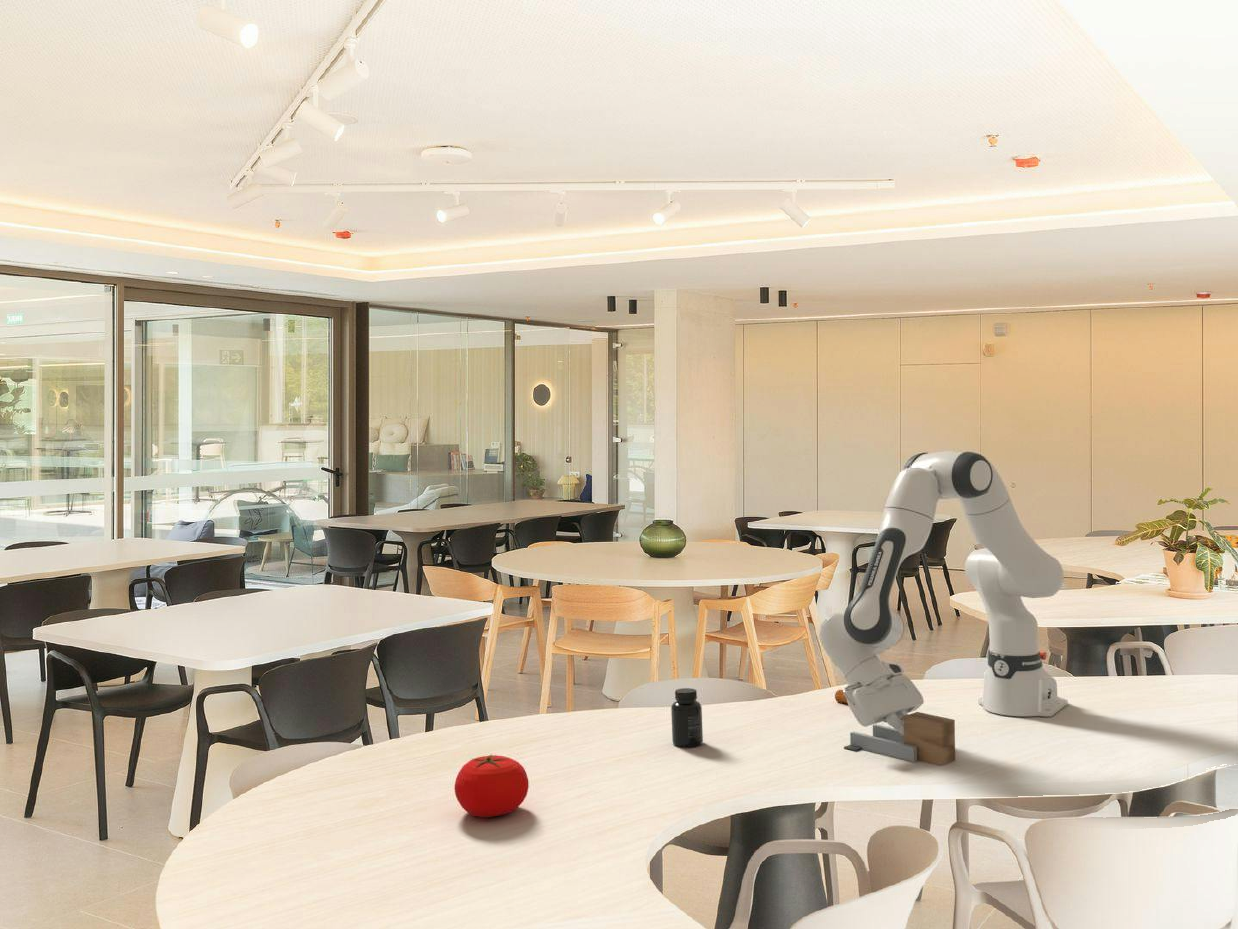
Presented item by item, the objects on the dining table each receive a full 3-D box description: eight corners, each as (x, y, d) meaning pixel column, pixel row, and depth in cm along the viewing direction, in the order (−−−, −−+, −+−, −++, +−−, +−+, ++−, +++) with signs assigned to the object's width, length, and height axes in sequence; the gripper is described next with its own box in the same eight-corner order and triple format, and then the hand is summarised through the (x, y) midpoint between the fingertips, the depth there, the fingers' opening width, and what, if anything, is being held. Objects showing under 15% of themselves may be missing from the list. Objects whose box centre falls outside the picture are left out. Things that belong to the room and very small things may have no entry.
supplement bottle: (703, 739, 244) (702, 686, 244) (702, 748, 238) (701, 694, 237) (672, 739, 245) (671, 686, 245) (671, 748, 238) (670, 694, 238)
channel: (882, 735, 244) (882, 722, 244) (944, 750, 232) (944, 736, 232) (844, 748, 235) (843, 735, 235) (907, 764, 223) (907, 750, 223)
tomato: (495, 795, 210) (494, 742, 210) (543, 809, 202) (542, 753, 202) (439, 817, 199) (437, 761, 199) (488, 832, 191) (486, 773, 191)
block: (917, 751, 232) (917, 711, 232) (955, 760, 225) (954, 719, 225) (904, 756, 229) (903, 716, 228) (941, 765, 222) (941, 724, 221)
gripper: (848, 679, 229) (888, 734, 222) (904, 664, 242) (943, 715, 235) (831, 696, 233) (870, 751, 226) (888, 680, 246) (926, 731, 239)
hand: (908, 733), depth 231 cm, fingers closed, pressing on block
